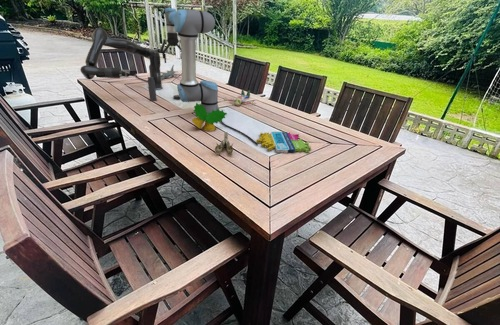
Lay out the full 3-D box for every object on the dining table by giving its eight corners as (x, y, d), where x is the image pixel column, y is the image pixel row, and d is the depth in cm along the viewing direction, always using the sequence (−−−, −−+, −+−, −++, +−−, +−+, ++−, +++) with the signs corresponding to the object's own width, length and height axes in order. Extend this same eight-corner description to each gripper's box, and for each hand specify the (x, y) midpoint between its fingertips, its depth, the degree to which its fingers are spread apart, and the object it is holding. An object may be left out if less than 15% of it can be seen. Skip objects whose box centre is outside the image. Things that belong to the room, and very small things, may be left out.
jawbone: (234, 135, 144) (233, 125, 135) (233, 160, 138) (232, 151, 129) (217, 135, 144) (216, 125, 135) (216, 160, 138) (214, 150, 129)
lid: (180, 99, 215) (180, 96, 214) (173, 99, 213) (173, 97, 212) (180, 97, 220) (179, 95, 219) (173, 97, 218) (173, 95, 217)
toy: (261, 91, 228) (254, 99, 202) (261, 99, 231) (253, 108, 205) (231, 87, 233) (220, 95, 207) (230, 95, 236) (219, 104, 210)
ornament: (218, 133, 171) (224, 110, 169) (221, 134, 163) (227, 111, 161) (186, 125, 162) (192, 101, 160) (189, 126, 155) (195, 101, 153)
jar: (152, 101, 206) (149, 78, 197) (148, 100, 208) (145, 77, 199) (157, 100, 209) (155, 77, 201) (154, 99, 212) (151, 76, 203)
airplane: (149, 74, 290) (148, 65, 285) (178, 73, 303) (177, 64, 298) (156, 82, 262) (155, 72, 257) (187, 81, 275) (186, 71, 270)
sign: (313, 150, 142) (258, 149, 139) (312, 153, 143) (258, 152, 140) (301, 132, 164) (254, 130, 161) (301, 134, 165) (254, 133, 162)
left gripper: (109, 69, 185) (133, 69, 188) (113, 65, 197) (136, 66, 200) (111, 80, 188) (135, 80, 192) (115, 76, 200) (138, 76, 204)
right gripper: (187, 32, 200) (189, 61, 210) (153, 31, 190) (157, 62, 200) (190, 33, 194) (191, 63, 204) (155, 32, 184) (158, 63, 194)
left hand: (136, 73), depth 196 cm, fingers open, 8 cm apart
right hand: (174, 62), depth 202 cm, fingers open, 13 cm apart
